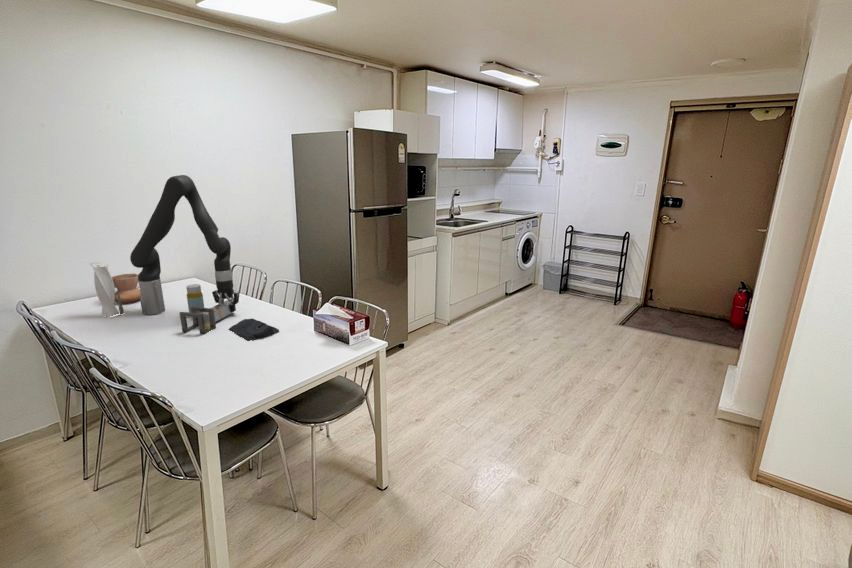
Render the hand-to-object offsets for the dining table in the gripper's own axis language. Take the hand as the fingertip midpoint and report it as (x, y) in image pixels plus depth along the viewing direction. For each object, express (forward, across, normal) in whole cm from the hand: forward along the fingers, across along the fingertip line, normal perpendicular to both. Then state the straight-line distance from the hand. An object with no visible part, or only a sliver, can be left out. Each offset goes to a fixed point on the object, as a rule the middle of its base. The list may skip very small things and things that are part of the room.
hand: (227, 311), depth 219 cm
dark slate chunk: (+2, +24, -16) cm, 29 cm away
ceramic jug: (+2, -65, +6) cm, 65 cm away
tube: (0, 0, -7) cm, 7 cm away
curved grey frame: (+2, 0, -21) cm, 21 cm away
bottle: (+2, -15, -3) cm, 15 cm away
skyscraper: (+2, -55, -14) cm, 57 cm away
